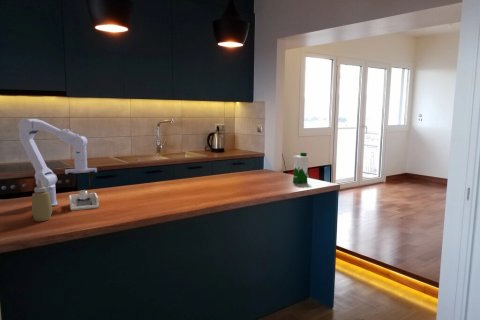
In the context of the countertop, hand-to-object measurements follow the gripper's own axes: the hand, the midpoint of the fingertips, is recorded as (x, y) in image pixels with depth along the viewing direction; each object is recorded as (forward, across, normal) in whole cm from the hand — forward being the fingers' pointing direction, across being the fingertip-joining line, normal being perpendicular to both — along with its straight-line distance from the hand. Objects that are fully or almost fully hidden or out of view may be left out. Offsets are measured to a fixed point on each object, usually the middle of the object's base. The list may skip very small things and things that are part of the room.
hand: (82, 187), depth 184 cm
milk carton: (+9, +135, +2) cm, 136 cm away
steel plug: (+8, 0, -3) cm, 9 cm away
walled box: (+9, 0, -3) cm, 10 cm away
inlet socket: (+9, 0, -3) cm, 10 cm away
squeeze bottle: (+10, -17, -19) cm, 28 cm away
